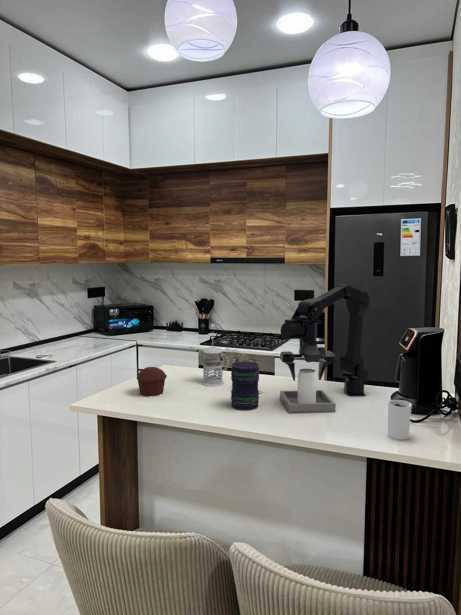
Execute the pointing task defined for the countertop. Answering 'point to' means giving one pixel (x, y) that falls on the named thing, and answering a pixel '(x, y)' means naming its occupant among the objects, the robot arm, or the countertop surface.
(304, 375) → the can
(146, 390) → the muffin
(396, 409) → the white cylindrical container
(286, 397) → the tray
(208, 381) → the french press
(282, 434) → the countertop surface
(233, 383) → the storage jar
